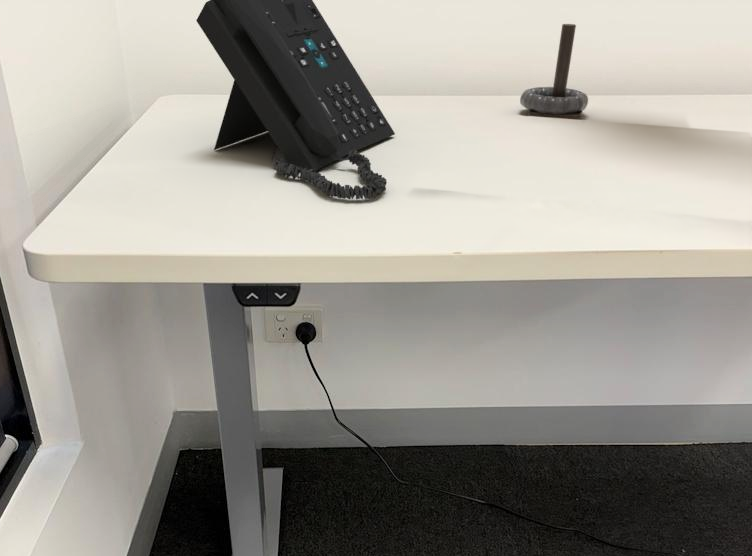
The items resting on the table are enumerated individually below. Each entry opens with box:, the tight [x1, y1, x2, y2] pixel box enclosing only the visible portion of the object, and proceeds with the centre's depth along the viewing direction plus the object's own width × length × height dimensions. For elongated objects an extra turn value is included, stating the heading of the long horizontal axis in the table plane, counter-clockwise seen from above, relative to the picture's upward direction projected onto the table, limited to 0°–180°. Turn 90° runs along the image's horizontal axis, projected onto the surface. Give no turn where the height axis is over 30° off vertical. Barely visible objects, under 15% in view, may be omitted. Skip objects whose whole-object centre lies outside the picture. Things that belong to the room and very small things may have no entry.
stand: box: [527, 23, 583, 121], centre depth 116 cm, size 8×8×13 cm
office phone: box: [195, 0, 396, 200], centre depth 92 cm, size 29×28×20 cm
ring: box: [519, 86, 589, 114], centre depth 119 cm, size 10×10×2 cm
